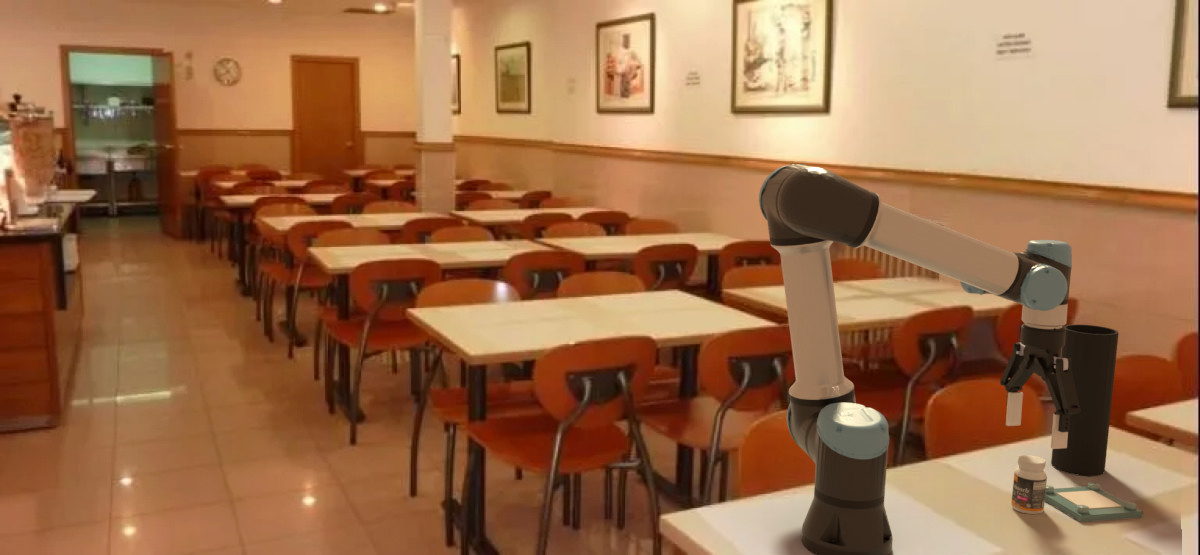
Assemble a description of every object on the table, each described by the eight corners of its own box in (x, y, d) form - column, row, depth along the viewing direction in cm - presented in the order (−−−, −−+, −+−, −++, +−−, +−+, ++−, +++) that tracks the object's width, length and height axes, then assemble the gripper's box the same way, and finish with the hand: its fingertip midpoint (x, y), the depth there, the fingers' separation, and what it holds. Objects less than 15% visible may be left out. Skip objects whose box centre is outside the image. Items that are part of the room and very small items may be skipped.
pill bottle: (1004, 506, 187) (1008, 456, 185) (1026, 501, 189) (1030, 452, 188) (1028, 517, 182) (1033, 465, 180) (1050, 512, 184) (1055, 461, 183)
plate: (1080, 521, 180) (1081, 510, 180) (1035, 495, 193) (1036, 484, 192) (1142, 517, 183) (1143, 506, 182) (1094, 491, 195) (1095, 481, 195)
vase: (1113, 476, 204) (1128, 335, 199) (1065, 475, 204) (1078, 334, 199) (1089, 459, 214) (1102, 324, 209) (1042, 459, 214) (1055, 324, 209)
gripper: (1109, 338, 169) (1098, 457, 172) (1020, 311, 193) (1012, 415, 196) (1070, 340, 167) (1060, 459, 171) (986, 312, 191) (978, 417, 195)
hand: (1035, 436), depth 183 cm, fingers open, 13 cm apart
